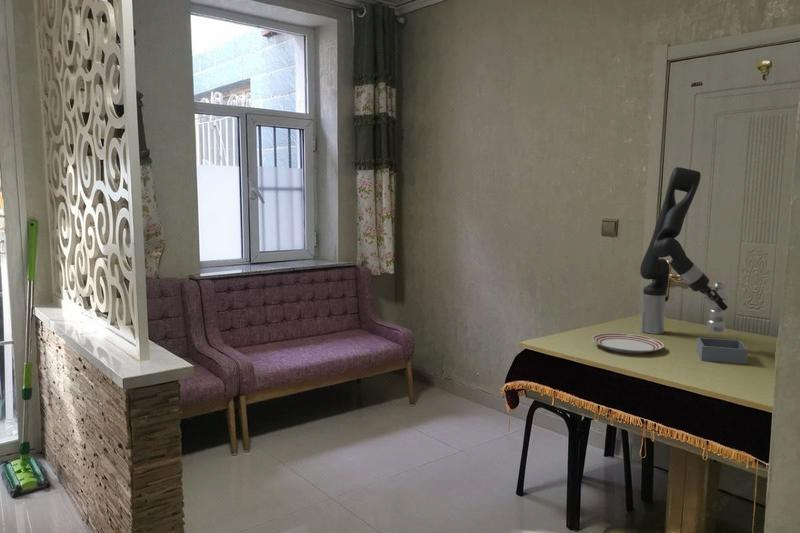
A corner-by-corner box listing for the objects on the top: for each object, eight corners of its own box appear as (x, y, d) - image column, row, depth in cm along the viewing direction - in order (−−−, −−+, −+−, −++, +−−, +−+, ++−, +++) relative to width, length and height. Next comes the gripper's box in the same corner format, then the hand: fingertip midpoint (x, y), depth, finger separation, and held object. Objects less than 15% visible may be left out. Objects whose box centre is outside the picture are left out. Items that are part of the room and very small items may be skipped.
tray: (701, 360, 224) (702, 346, 224) (696, 350, 238) (697, 337, 238) (747, 364, 219) (748, 349, 219) (739, 354, 233) (740, 340, 233)
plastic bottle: (722, 330, 245) (727, 282, 242) (725, 334, 239) (730, 285, 236) (705, 329, 247) (709, 281, 244) (707, 333, 241) (711, 283, 238)
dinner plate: (673, 347, 245) (674, 339, 244) (648, 361, 224) (649, 352, 224) (608, 337, 263) (608, 329, 262) (579, 348, 243) (580, 340, 242)
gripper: (708, 273, 233) (737, 304, 233) (694, 268, 247) (721, 297, 247) (693, 286, 234) (722, 317, 235) (679, 280, 248) (707, 309, 249)
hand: (721, 307), depth 241 cm, fingers closed on plastic bottle, 6 cm apart
